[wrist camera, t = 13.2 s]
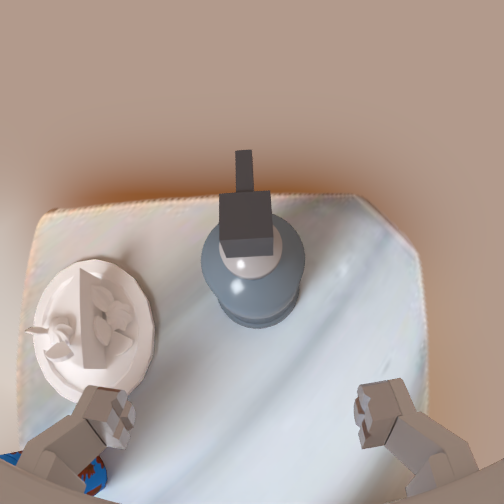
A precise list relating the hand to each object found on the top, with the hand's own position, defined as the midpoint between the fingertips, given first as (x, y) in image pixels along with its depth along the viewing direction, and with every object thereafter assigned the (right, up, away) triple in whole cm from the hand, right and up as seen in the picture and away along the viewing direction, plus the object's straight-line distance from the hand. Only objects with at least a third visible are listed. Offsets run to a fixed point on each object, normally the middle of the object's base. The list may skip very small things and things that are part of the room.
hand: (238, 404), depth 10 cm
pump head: (0, +8, +21) cm, 22 cm away
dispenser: (+1, 0, +37) cm, 37 cm away
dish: (-27, -8, +36) cm, 45 cm away
